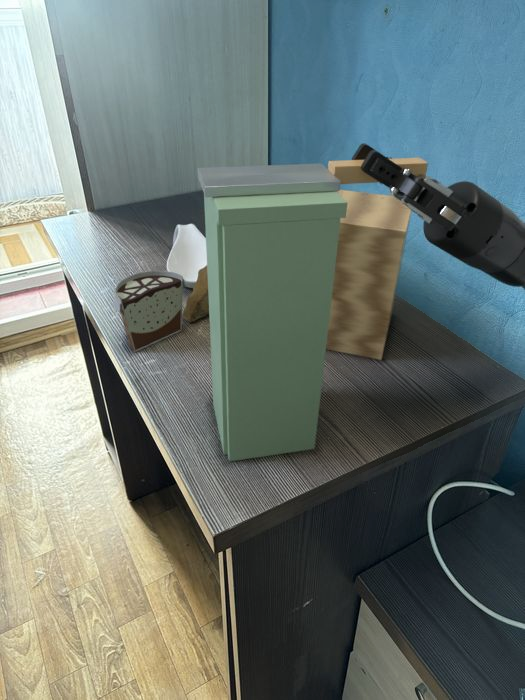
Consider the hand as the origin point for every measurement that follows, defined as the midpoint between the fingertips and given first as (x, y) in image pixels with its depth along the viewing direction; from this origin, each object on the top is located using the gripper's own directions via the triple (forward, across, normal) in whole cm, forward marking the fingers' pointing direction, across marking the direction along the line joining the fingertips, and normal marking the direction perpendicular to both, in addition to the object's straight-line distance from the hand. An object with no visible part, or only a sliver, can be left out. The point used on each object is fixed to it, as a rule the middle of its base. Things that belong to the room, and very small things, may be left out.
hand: (362, 156), depth 52 cm
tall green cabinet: (-9, 0, +34) cm, 36 cm away
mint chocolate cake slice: (+3, -25, +42) cm, 49 cm away
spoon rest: (-5, -47, +37) cm, 60 cm away
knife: (+3, 0, +4) cm, 5 cm away
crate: (-25, -20, +26) cm, 41 cm away
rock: (-6, -31, +36) cm, 48 cm away
